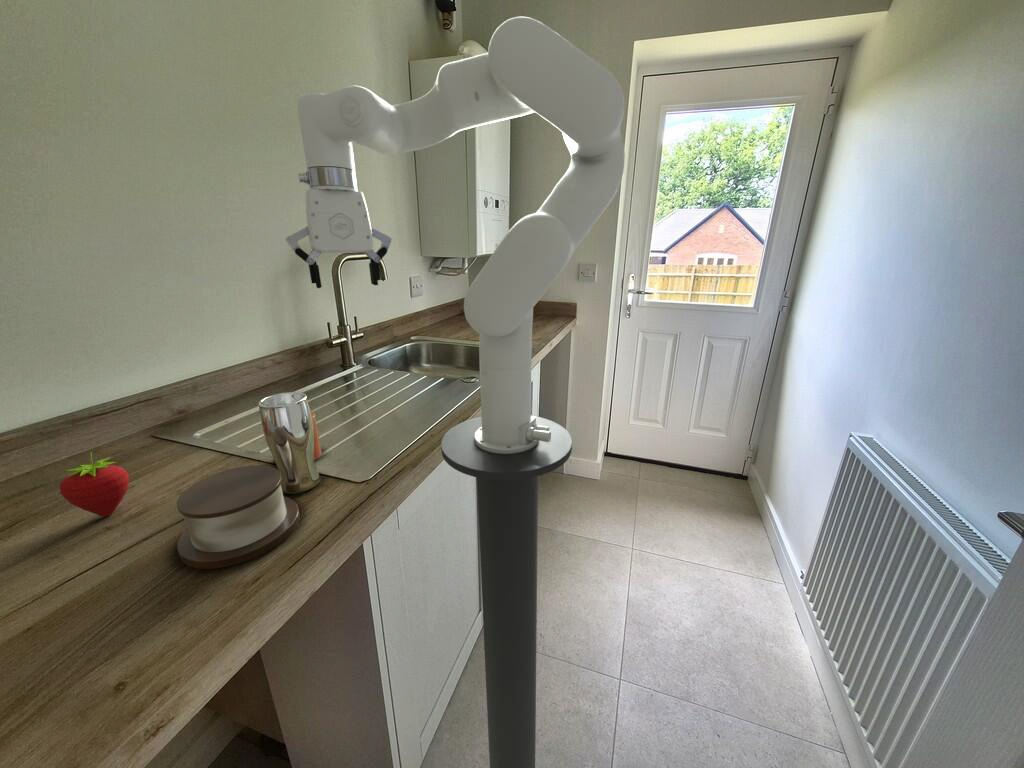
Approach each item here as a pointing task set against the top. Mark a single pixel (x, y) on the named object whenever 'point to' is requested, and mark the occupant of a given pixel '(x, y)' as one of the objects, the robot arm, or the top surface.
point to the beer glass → (290, 439)
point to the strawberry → (96, 487)
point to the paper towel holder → (234, 517)
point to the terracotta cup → (316, 439)
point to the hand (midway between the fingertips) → (347, 286)
